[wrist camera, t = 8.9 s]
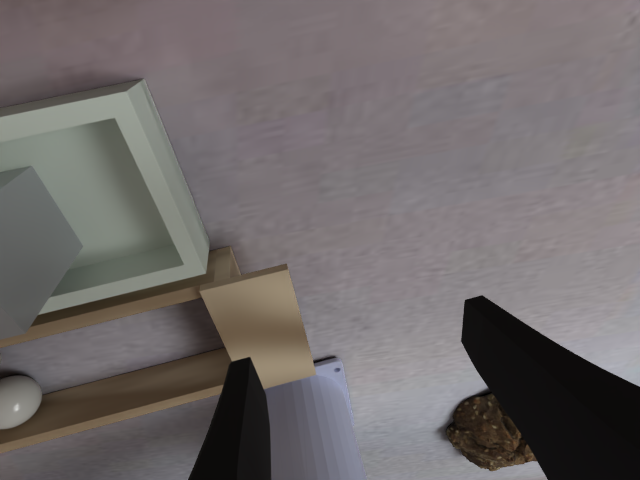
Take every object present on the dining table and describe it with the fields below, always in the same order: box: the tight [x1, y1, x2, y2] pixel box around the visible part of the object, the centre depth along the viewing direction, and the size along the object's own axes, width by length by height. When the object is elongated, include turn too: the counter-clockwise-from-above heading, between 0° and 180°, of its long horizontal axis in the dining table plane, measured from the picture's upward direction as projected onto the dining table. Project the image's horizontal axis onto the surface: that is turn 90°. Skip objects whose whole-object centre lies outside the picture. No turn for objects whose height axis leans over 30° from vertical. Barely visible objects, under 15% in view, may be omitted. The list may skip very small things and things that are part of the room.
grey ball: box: [0, 375, 42, 429], centre depth 22 cm, size 3×3×3 cm
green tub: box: [0, 79, 210, 315], centre depth 16 cm, size 9×16×3 cm, turn 100°
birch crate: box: [0, 246, 316, 453], centre depth 21 cm, size 9×24×4 cm, turn 100°
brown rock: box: [446, 393, 537, 471], centre depth 36 cm, size 13×12×5 cm
